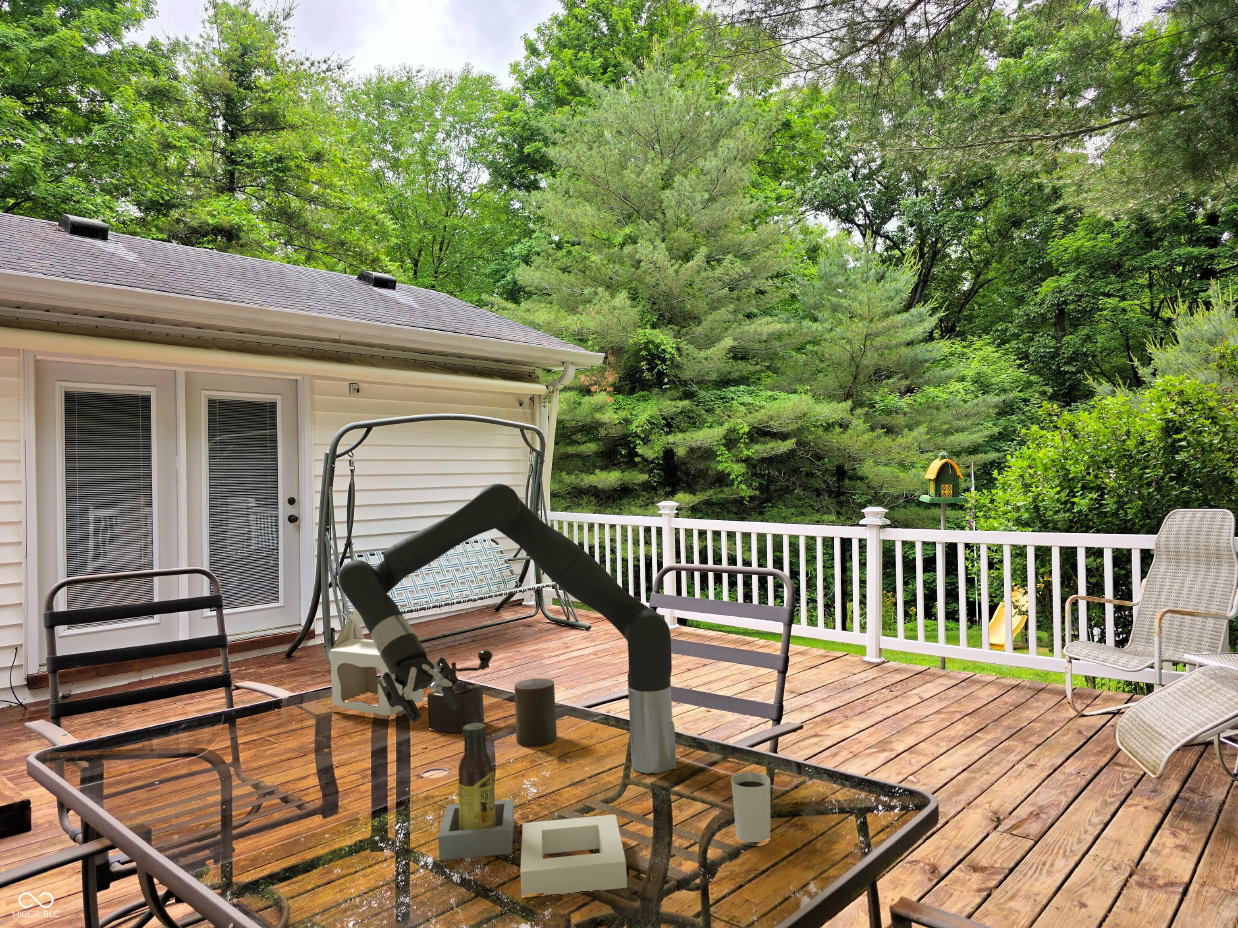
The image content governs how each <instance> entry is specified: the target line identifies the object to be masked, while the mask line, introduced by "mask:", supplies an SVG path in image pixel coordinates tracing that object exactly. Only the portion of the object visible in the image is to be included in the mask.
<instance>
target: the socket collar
mask: <svg viewBox="0 0 1238 928" xmlns="http://www.w3.org/2000/svg"><path fill="white" fill-rule="evenodd" d="M617 820H618V819H617V816H616V814H606V815H595V816H594V815H593V816H586V817H575V818H564V819H563V818H562V819H554V820H553V819H552V820H551V819H550V820H544V821H543V820H541V821H540V820H539V821H531V822H522V832H521V833H522V835H521V852H520V872H519V873H520V887H521V888H520V892H521V893H520V895H521V897H522V896H524V895H526V894H532V893H544V894H561V895H568V894H567V893H571V894H574V893H573V892H580V891H590V892H594V891H593V890H600V891H607V890H618V889H619V890H620V889H626V888H627V889H628V882H627V881H628V879H627V877H628V876H627V861H626V860H627V859H626V856H625V852H624V847H623V842H622V837H621V834H620V829H619V825H618V821H617ZM598 849H599V852H598V853H588V854H577V855H568V856H558V857H548V858H544V855H550V854H559V853H568V852H577V851H578V852H579V851H588V850H598ZM580 893H581V892H580Z"/></svg>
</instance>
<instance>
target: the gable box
mask: <svg viewBox="0 0 1238 928" xmlns="http://www.w3.org/2000/svg"><path fill="white" fill-rule="evenodd" d="M348 616H349V617H350V619H349V618H348V619H346V623H345V625H344V627H343V628H342V630H341V632H340V633H339V635H338V637H337V638H336V640H335V641H334V643H333V645H332V647H331V649H330V650H329V651H330V656H329V657H330V676H331V677H330V679H331V698H332V699H331V700H332V705H331V706H333V705H337V706H342V707H346V708H349V709H354V710H357V711H362V712H367V713H377V714H380V715H393V714H395V713H397V712H398V711H401V710H403V708H402V707H400V706H395V707H391V706H390V705H389V703H388V701H387V699H386V697H385V695H384V692H383V690H382V688H381V686H380V684H379V683H378V684H377V682H378V681H377V680H378V675H377V674H378V673H377V670H379V672H380V679H379V681H380V680H381V678H382V676H383V675H384V673H386V672H388V673H390V672H389V670H388V668H387V666H386V665H385V663H384V661H383V659H382V657H381V656H380V654H379V652H378V650H377V648H376V646H375V644H374V641H373V639H372V638H371V639H369V638H365V636H364V634H363V631H362V628H361V626H362V627H363V626H365V624H364V622H363V619H362V617H361V616H360V614H359V613H358V611H357V610H356V609H355V608H354V609H353V610H352V613H349V614H348ZM365 627H366V626H365ZM390 674H391V673H390ZM395 686H396V688H397V690H398V692H399V694H401V689H402V686H401V685H399V684H398V683H396V682H395ZM367 692H370V693H375V694H378V697H379V704H378V706H372V705H369V704H367V703H365V702H362V701H354V702H351V703H345V702H344V701H345V700H348V699H350V698H354V697H355V696H359V695H360V694H365V693H367ZM412 699H413V701H414V702H415V703H418V702H421V701H424V689H419V690H417V691H415V692H413V691H412V693H411V698H410V700H412ZM424 702H425V701H424Z"/></svg>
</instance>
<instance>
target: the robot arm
mask: <svg viewBox="0 0 1238 928" xmlns="http://www.w3.org/2000/svg"><path fill="white" fill-rule="evenodd" d="M494 529H495V530H497V531H498V532H500V533H501V534H503V535H504V536H505V537H507V538H508V539H510V540H511V541H512V542H514V543H515V544H517V546H518V547H520V548H521V549H522V550H523V551H524V552H525V554H527V556H529V558H530V559H531V560H532V562H533V563H535V564H536V566H538V568H539V569H540V570H541V571H542V573H544V574H545V575H546V576H547V577H548V578H549V579H550V580H551V581H553V583H555V584H556V585H558V586H559V587H560V588H561V589H562V590H563V591H564V592H566V593H568V594H569V595H570V597H572V598H574V599H575V600H577V601H578V602H579V603H582V604H583V605H585V606H587V607H588V608H591V609H592V610H594V611H596V612H597V613H599V615H601V616H603V617H604V618H605V619H606V620H607V621H608V622H610V624H611V625H612V626H613V627H614V628H615V629H616V630H617V631H618V632H619V633H620V634H621V636H623V638H624V639H625V640H626V641H627V649H628V650H627V651H628V652H627V654H628V660H627V661H628V673H627V692H628V693H627V694H628V711H629V712H628V714H629V716H628V717H629V734H630V739H629V740H630V759H631V768H632V769H633V770H634V769H635V770H634V771H635V772H638V771H639V772H638V773H641V772H643V774H649V773H655V774H661V773H666V772H668V771H670V770H677V754H676V753H677V751H676V749H677V748H676V747H677V746H676V731H675V729H676V727H675V723H674V720H673V704H672V703H673V702H672V701H673V700H672V684H671V683H672V682H671V677H672V671H673V668H672V667H673V664H672V663H673V661H672V637H671V630H670V626H669V625H668V623H667V621H666V620H665V619H664V618H663V617H662V615H661V614H660V613H659V612H657V611H656V610H654V609H652V608H650V606H648V605H645V604H644V603H643V602H641V601H639V600H638V599H637V598H636V597H634V596H633V595H631V594H630V593H629V592H628V591H626V590H625V589H624V588H623V587H621V585H619V583H617V581H616V580H615V579H614V578H613V577H612V575H610V573H609V572H608V571H607V570H606V569H605V568H604V567H603V566H602V565H601V564H600V563H599V562H598V561H597V560H596V559H595V558H593V557H592V556H591V555H590V554H589V553H588V552H587V551H585V550H584V549H583V548H582V547H581V546H580V545H578V544H577V543H575V542H574V541H573V540H571V539H570V538H568V537H567V536H566V535H565V534H563V533H561V532H560V531H558V530H556V529H555V528H554V527H551V526H550V525H548V524H547V523H546V522H544V521H543V520H542V519H541V518H539V516H537V515H536V514H535V513H534V512H533V511H532V510H531V509H530V508H529V507H528V506H527V505H526V504H525V503H524V502H523V501H522V500H521V499H520V497H519V495H518V494H517V492H516V491H515V489H513V488H512V487H511V486H508V485H506V484H504V483H493V484H490V485H487V486H485V487H484V488H483V489H482V490H481V491H480V492H479V494H477V495H475V496H474V497H473V498H472V499H471V500H470V501H468V502H467V503H466V504H464V505H463V506H461V507H460V508H459V509H457V510H456V511H455V512H452V513H451V514H450V515H448V516H446V517H444V518H443V519H440V520H439V521H437V522H435V523H433V524H431V525H429V526H426V527H424V528H422V529H420V530H418V531H417V532H414V533H413V534H410V535H409V536H407V537H405V538H403V539H402V540H399V541H398V542H396V543H395V544H393V545H392V544H391V546H389V547H388V548H386V549H385V550H384V552H383V557H382V558H383V560H382V561H381V562H380V563H379V564H377V565H376V566H375V567H373V566H372V565H371V564H370V563H368V562H366V561H365V560H361V559H354V560H351V561H348V562H347V563H345V564H344V565H343V567H341V569H340V572H339V573H338V574H339V575H338V582H339V586H340V588H341V590H342V592H343V593H344V595H345V597H346V598H347V599H348V601H349V602H350V604H351V605H352V606H353V608H354V609H356V610H357V611H358V613H359V614H360V616H361V617H362V619H363V622H364V624H365V628H366V629H367V631H368V634H369V635H370V636H371V639H372V640H373V641H374V644H375V646H376V648H377V650H378V652H379V654H380V656H381V657H382V659H383V661H384V663H385V665H386V666H387V668H388V670H389V672H390V673H391V674H390V673H388V672H386V673H384V675H383V676H382V678H381V677H380V679H381V680H380V679H379V681H378V685H379V684H380V686H381V688H382V690H383V692H384V695H385V697H386V699H387V701H388V703H389V705H390V706H391V707H395V706H400V707H402V708H403V709H404V711H405V713H406V714H405V715H406V717H407V718H408V719H409V721H411V722H412V723H413V724H416V723H418V722H419V721H420V720H421V719H422V713H421V711H420V710H419V708H417V706H416V704H415V702H414V701H413V699H412V700H410V698H411V693H412V691H413V692H415V691H417V690H419V689H423V690H425V689H427V688H429V689H430V690H433V691H436V690H438V691H439V692H441V693H443V697H444V698H445V700H446V702H447V703H448V705H449V707H450V709H451V710H454V709H456V708H457V707H458V705H459V698H458V697H457V695H456V693H455V691H454V690H453V687H454V685H455V684H456V683H457V682H459V678H458V677H457V674H456V675H455V673H454V672H453V670H452V669H451V668H452V667H451V666H450V665H449V663H448V661H447V660H446V658H445V657H440V658H439V659H438V660H436V661H434V662H432V661H430V659H428V656H427V652H426V651H427V650H426V649H425V647H424V646H423V644H422V643H421V641H420V639H419V638H418V635H417V634H416V632H415V631H414V629H413V627H412V626H411V624H410V622H408V620H407V619H406V617H405V616H404V615H403V613H402V612H401V610H400V608H399V607H398V604H397V603H396V602H395V600H394V599H393V598H392V597H391V596H390V595H389V594H388V593H389V592H390V591H392V590H393V589H394V588H395V587H396V586H397V585H398V584H400V582H401V581H403V579H405V578H406V577H409V576H410V575H411V574H414V573H415V572H416V571H419V570H420V569H422V568H424V567H425V566H426V567H427V565H429V564H431V563H432V562H434V561H436V560H438V559H439V558H440V557H443V555H445V554H446V553H448V552H449V551H452V549H454V548H455V547H457V546H459V545H461V544H462V543H464V542H466V541H468V540H470V539H472V538H474V537H476V536H479V535H481V534H483V533H486V532H488V531H492V530H494ZM433 679H434V680H435V681H433ZM395 682H396V683H398V684H399V685H401V686H402V689H401V694H399V692H398V690H397V688H396V686H395Z"/></svg>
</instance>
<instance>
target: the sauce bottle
mask: <svg viewBox="0 0 1238 928" xmlns="http://www.w3.org/2000/svg"><path fill="white" fill-rule="evenodd" d="M486 734H487V726H486V724H485V723H484V722H482V723H472V724H468V725H465V726H464V727H463V734H462V735H463V741H464V742H463V743H464V748H463V751H464V754H463V756H462V758H461V759H460V762H459V765H458V782H457V785H458V786H457V787H458V804H459V824H460V830H470V829H480V828H491V827H497V826H496V820H495V801H496V797H495V794H496V793H495V769H494V767H493V764H492V761H491V758H490V756H489V754H488V751H487V746H486V745H487V744H486V742H487V741H486Z"/></svg>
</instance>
